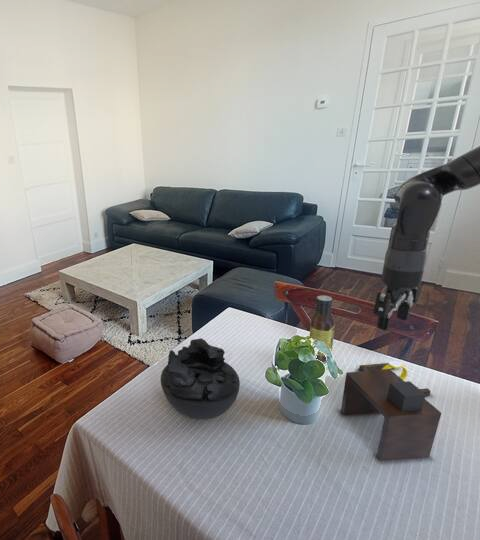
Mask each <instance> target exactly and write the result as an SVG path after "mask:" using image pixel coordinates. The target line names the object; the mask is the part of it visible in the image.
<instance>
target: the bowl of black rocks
mask: <svg viewBox="0 0 480 540" xmlns="http://www.w3.org/2000/svg"><path fill="white" fill-rule="evenodd" d="M225 353H226V352H225V350H224V349H223V348H221V347H218V346H213V345H211V344H209V343H208V342H207V341H206V340H205V339H203V338H202V337H201V338H194V339H191V340H190V343H189V345H188V347H187V346H182V348H181V349H179V350H178V351H177V354H176V352H175V351H174V350H173V349H170V350H169V352H168V356H167V365H165V367H163V369H162V370H161V373H160V386H161V389H162V392H163V394H164V396H165V399H166V400H167V402H169V404H170V405H171V406H172V408H174V409H175V410H177V412H179V413H180V414H182V415H184V416H185V417H188V418H191V419H193V420H194V419H195V420H212V419H216V418H217V417H220V416H222V415H223V414H225V413H226V412H227V411H228V410H230V408H231V407H232V406H233V405H234V403H235V401H236V400H237V397H238V396H239V392H240V385H241V380H240V377H239V374H238V373H237V371H236V370H235V368H233V367H232V365H230V364H229V363H228V362H226V361H225V360H226V358H225V357H224V356H225Z"/></svg>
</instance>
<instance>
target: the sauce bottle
mask: <svg viewBox="0 0 480 540" xmlns="http://www.w3.org/2000/svg"><path fill="white" fill-rule="evenodd" d="M315 301H316V308H315V312H314V313H313V314H312V315H311V317H310V318H311V319H310V326H309V337H310V336H311V337H312V338H313V339H316V340H318V341H321V342H324V343H325V344H326V345H327V346H329V348H330V349H331V351H332V352H333V345H334V335H335V323H336V322H335V319H334V317H333V316H334V315H333V313H332V304H333V298H332V297H331V296H329V295H325V294H324V295H318V296H316V299H315ZM317 359H318V360H317ZM315 360H317V361H327V360H326V357H325V355H324V354H323V353H321V352H319V351H318V355H317V358H316V359H315Z"/></svg>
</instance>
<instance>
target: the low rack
mask: <svg viewBox="0 0 480 540" xmlns="http://www.w3.org/2000/svg"><path fill="white" fill-rule="evenodd" d="M386 365H388V362H382V363H369V364H361V365H359V367H358V371H371V370H382V369H383V367H384V366H386ZM390 370H395V369H394V368H391V369H390ZM419 389H420V390H421V391H422V392H423V393H424V394H426V395H425V397H427V396H430V395H431V392H432V391H431V390H430V389H429V388H427V387H426V388H419Z"/></svg>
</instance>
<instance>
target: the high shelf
mask: <svg viewBox="0 0 480 540" xmlns="http://www.w3.org/2000/svg"><path fill="white" fill-rule="evenodd" d="M395 382H405V380H402V379H401V378H400V377H399V375H398V374H396V373H395V372H394V371H393V370H392V369H383V370H371V371H360V370H358V371H349V372H346V373H345V379H344V386H343V392H342V393H343V394H342V400H341V406H340V413H341V414H342V415H343V416H351V415H352V416H353V415H364V414H367V415H368V414H377V413H379V414H381V416H383V417H384V418H383V423H382V428H381V432H380V438H379V441H378V447H377V452H376V457H377V459H378V460H379V461H380V462H383V461H384V462H385V461H398V460H399V461H400V460H411V459H412V460H415V459H425V458H426V459H427V458H430V457H431V452H432V449H433V445H434V441H435V438H436V435H437V431H438V427H439V424H440V420H441V418H442V412H441V411H440V410H439V409H438V408H437V407H435V406H434V405H433V404H432V403H430V401H428V400H427V399H426V398H425V399H424V403H423V407H422V410H420V411H407V412H401V411H400V410H399V409H398V408H397V407H396V406H395V405H394V404H393V403H392V402H391V401H390V400H389V399H387V395H388V391H389V386H390V383H395Z"/></svg>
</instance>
